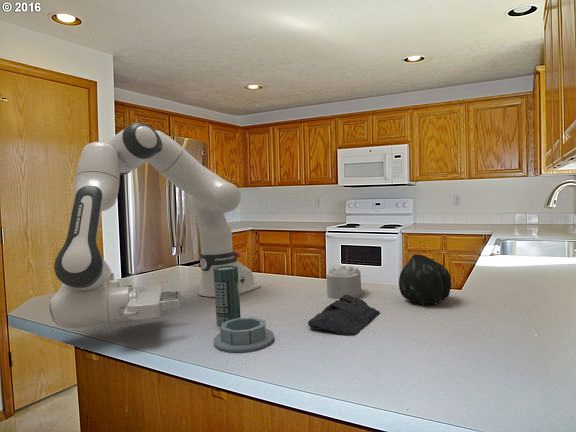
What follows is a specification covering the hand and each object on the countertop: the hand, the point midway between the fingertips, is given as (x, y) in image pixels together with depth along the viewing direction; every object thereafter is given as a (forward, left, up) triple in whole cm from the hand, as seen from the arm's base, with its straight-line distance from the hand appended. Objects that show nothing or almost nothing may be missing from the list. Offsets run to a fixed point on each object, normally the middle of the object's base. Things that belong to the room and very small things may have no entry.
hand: (180, 298), depth 107 cm
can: (-11, +6, -8) cm, 15 cm away
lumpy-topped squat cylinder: (-53, +13, -8) cm, 55 cm away
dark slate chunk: (-31, +29, -9) cm, 43 cm away
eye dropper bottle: (+1, -42, -8) cm, 43 cm away
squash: (-59, +38, -8) cm, 70 cm away
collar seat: (-5, +20, -8) cm, 22 cm away
